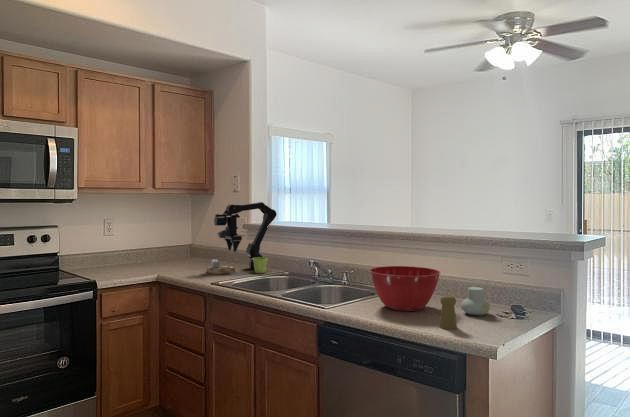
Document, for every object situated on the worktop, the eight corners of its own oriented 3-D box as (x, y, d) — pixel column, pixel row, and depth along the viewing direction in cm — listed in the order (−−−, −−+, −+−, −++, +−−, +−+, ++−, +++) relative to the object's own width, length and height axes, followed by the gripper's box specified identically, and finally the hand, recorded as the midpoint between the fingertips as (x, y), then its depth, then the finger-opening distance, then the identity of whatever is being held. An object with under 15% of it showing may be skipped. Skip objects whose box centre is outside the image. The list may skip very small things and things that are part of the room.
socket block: (229, 270, 297) (229, 265, 297) (235, 273, 288) (235, 267, 288) (206, 272, 290) (206, 266, 290) (211, 274, 281) (211, 269, 281)
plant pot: (271, 272, 290) (271, 258, 289) (261, 274, 282) (261, 259, 281) (259, 271, 295) (259, 256, 294) (248, 273, 287) (248, 258, 286)
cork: (453, 324, 175) (454, 293, 175) (459, 329, 169) (459, 297, 168) (437, 324, 175) (437, 294, 174) (441, 329, 169) (442, 297, 168)
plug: (217, 272, 290) (217, 259, 290) (219, 273, 287) (218, 259, 286) (211, 273, 288) (211, 259, 288) (213, 273, 285) (212, 260, 285)
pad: (242, 272, 290) (242, 271, 290) (248, 274, 282) (248, 273, 282) (228, 273, 285) (228, 272, 285) (233, 276, 278) (233, 275, 278)
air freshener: (473, 309, 197) (473, 285, 197) (492, 313, 191) (492, 288, 191) (458, 314, 190) (458, 288, 190) (478, 318, 184) (478, 291, 184)
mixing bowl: (385, 297, 221) (385, 263, 220) (448, 304, 206) (449, 268, 206) (358, 310, 197) (358, 271, 196) (427, 319, 182) (427, 278, 181)
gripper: (214, 224, 299) (214, 250, 299) (223, 226, 283) (224, 253, 283) (231, 224, 304) (231, 249, 305) (242, 226, 288) (242, 252, 288)
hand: (232, 251), depth 295 cm, fingers open, 9 cm apart
